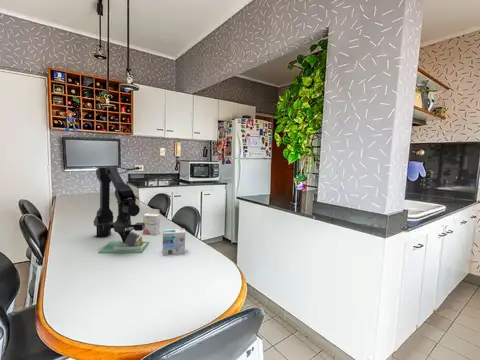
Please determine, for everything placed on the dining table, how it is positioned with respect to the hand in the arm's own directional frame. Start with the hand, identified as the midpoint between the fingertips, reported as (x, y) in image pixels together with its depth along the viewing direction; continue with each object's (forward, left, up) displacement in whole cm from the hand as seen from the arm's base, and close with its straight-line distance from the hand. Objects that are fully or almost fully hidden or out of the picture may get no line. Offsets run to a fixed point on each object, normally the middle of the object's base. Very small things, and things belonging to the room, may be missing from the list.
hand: (124, 243), depth 126 cm
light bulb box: (+25, -6, -3) cm, 26 cm away
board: (0, 0, -3) cm, 3 cm away
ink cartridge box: (+7, +24, -3) cm, 25 cm away
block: (+2, -1, 0) cm, 3 cm away
